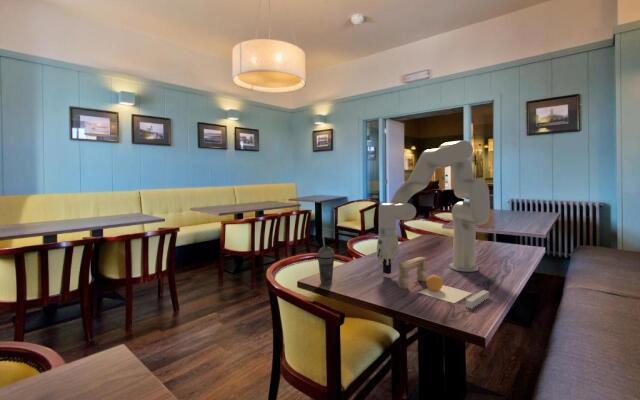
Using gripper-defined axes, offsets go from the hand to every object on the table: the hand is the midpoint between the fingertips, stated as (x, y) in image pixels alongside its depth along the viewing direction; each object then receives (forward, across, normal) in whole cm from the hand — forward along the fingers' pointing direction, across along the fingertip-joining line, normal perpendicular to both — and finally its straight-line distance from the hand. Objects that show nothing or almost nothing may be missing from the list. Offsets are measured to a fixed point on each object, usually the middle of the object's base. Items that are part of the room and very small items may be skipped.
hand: (387, 273), depth 144 cm
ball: (-2, -1, -23) cm, 23 cm away
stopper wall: (+2, 0, -39) cm, 39 cm away
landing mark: (+2, 0, -27) cm, 27 cm away
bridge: (+2, 0, -13) cm, 13 cm away
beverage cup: (+2, -26, +11) cm, 28 cm away
